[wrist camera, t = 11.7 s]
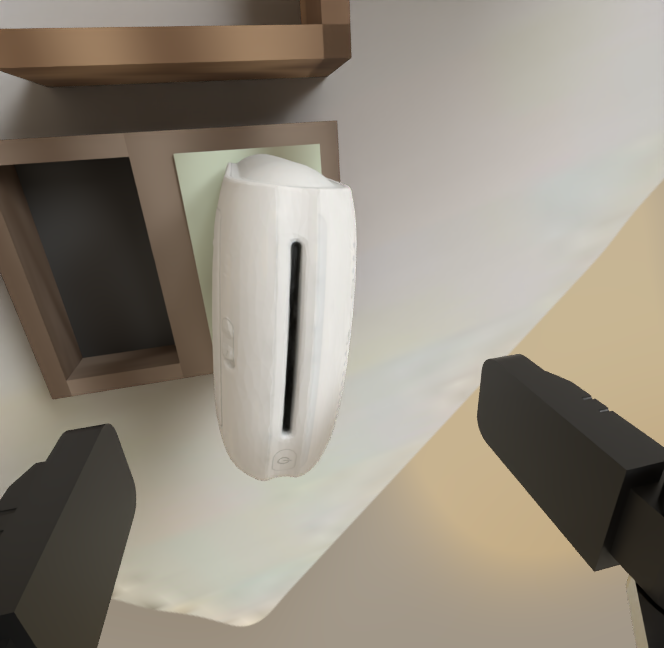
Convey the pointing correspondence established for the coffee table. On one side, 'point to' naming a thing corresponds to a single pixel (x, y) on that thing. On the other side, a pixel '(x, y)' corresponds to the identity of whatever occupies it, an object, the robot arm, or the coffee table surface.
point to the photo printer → (280, 312)
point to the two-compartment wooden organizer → (126, 245)
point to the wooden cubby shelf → (181, 51)
